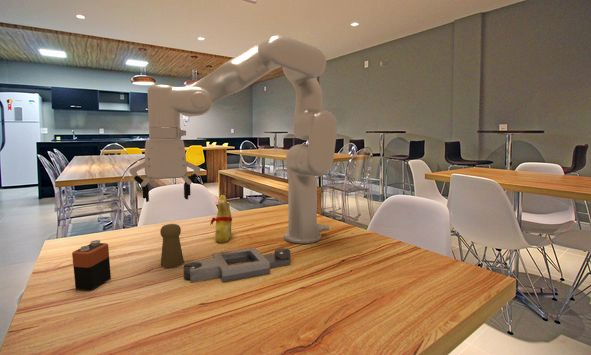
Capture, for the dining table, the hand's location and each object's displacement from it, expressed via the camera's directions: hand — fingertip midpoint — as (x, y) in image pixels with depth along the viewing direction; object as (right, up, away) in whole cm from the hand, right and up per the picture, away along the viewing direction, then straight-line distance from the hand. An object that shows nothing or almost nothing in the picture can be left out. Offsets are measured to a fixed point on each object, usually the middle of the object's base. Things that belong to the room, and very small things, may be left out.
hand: (167, 199), depth 88 cm
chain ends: (+20, -18, -1) cm, 27 cm away
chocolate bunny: (+9, -15, +24) cm, 30 cm away
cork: (0, -18, +3) cm, 18 cm away
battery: (-14, -20, -9) cm, 26 cm away
